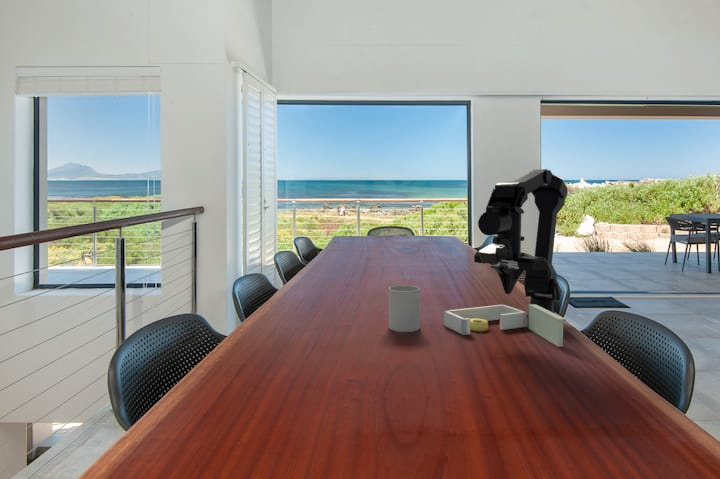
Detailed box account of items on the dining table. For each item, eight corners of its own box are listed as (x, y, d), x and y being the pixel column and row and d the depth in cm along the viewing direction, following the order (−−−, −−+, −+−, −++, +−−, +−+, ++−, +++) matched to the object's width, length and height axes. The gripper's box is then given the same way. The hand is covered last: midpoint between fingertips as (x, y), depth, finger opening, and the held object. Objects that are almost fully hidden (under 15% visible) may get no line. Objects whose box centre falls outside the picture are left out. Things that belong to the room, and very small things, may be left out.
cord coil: (480, 324, 128) (480, 317, 128) (492, 330, 123) (492, 322, 123) (462, 326, 126) (462, 319, 126) (474, 332, 121) (474, 324, 121)
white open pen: (504, 317, 135) (504, 295, 135) (532, 328, 124) (532, 304, 124) (443, 325, 128) (443, 302, 127) (467, 336, 117) (467, 311, 116)
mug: (415, 333, 120) (415, 292, 119) (384, 330, 123) (384, 290, 122) (426, 322, 131) (426, 284, 130) (397, 319, 134) (397, 282, 133)
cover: (528, 328, 124) (529, 304, 123) (535, 328, 124) (535, 304, 123) (557, 346, 109) (558, 319, 108) (565, 346, 109) (565, 319, 108)
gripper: (459, 232, 120) (458, 291, 121) (517, 237, 104) (515, 305, 105) (489, 229, 125) (488, 286, 127) (549, 234, 109) (547, 299, 111)
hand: (507, 293), depth 117 cm, fingers closed
